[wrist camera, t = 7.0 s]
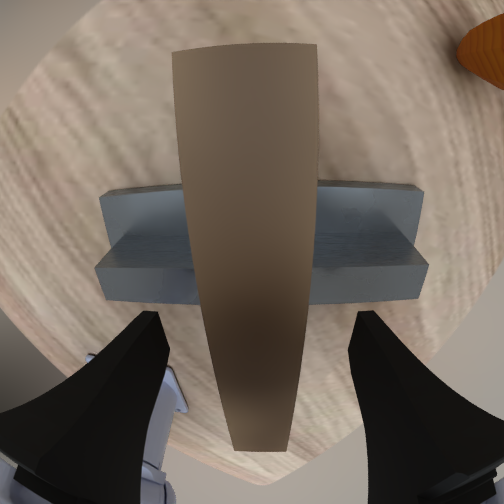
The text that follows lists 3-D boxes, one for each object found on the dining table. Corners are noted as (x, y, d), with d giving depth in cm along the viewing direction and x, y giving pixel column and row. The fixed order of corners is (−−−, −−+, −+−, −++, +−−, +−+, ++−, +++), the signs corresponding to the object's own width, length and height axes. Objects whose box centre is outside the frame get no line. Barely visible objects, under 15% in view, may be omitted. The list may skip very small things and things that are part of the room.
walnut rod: (239, 397, 17) (234, 450, 13) (207, 71, 8) (171, 52, 5) (285, 398, 17) (286, 451, 13) (296, 68, 8) (316, 44, 4)
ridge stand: (133, 287, 19) (106, 332, 15) (108, 191, 15) (65, 222, 11) (394, 285, 18) (419, 331, 14) (414, 185, 14) (457, 216, 10)
